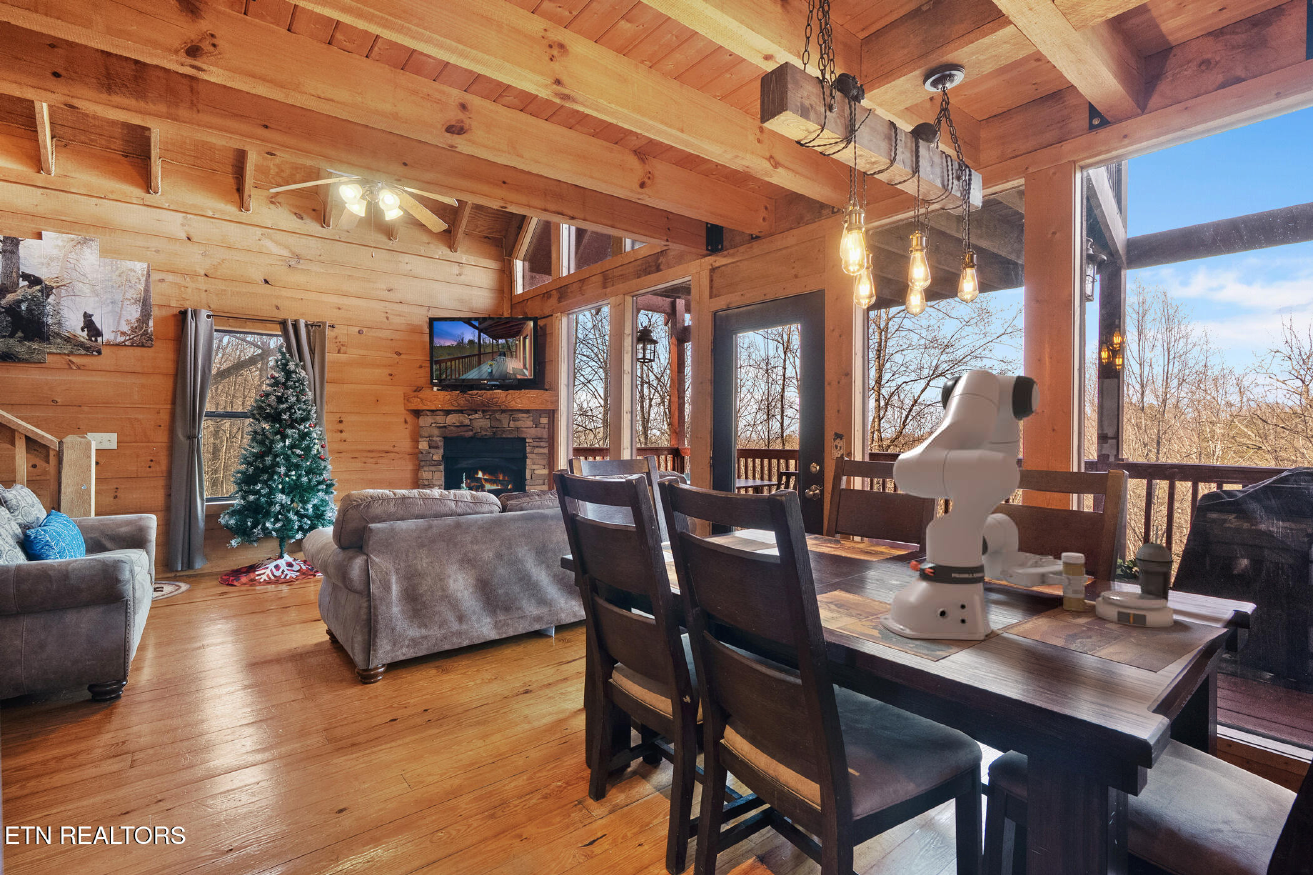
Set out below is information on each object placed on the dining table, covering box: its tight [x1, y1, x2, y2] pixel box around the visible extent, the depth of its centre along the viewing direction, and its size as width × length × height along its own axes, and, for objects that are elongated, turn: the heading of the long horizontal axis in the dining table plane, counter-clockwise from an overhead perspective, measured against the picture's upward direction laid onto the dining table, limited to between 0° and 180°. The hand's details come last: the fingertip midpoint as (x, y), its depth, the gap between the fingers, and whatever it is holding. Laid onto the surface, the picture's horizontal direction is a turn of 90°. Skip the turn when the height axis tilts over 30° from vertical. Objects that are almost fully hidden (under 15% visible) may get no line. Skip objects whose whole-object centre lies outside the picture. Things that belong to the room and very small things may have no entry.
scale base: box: [1095, 597, 1174, 628], centre depth 140 cm, size 14×14×3 cm
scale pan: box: [1100, 590, 1168, 609], centre depth 140 cm, size 12×12×1 cm
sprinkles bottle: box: [1061, 552, 1086, 613], centre depth 147 cm, size 5×5×14 cm
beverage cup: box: [1135, 524, 1175, 604], centre depth 149 cm, size 7×7×20 cm
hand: (1077, 581), depth 146 cm, fingers closed on sprinkles bottle, 4 cm apart
